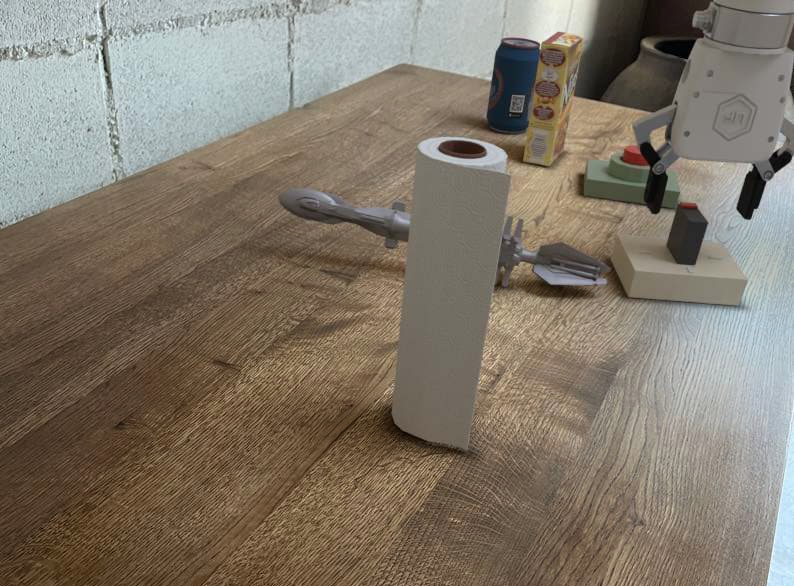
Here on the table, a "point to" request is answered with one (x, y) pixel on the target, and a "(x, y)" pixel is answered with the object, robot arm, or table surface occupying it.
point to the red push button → (633, 156)
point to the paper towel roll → (448, 285)
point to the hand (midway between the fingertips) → (697, 212)
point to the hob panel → (677, 272)
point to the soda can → (513, 85)
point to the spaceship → (549, 262)
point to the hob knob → (686, 233)
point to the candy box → (552, 97)
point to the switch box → (624, 181)
